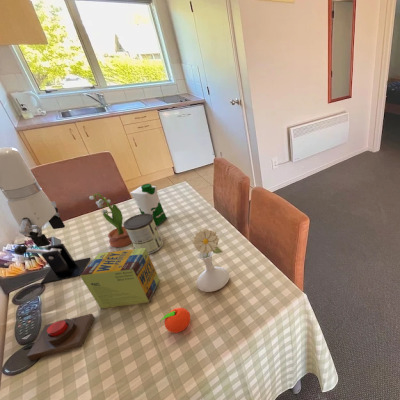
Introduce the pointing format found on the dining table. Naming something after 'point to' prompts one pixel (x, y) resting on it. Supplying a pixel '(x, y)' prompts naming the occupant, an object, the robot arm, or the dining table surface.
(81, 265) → the bracket
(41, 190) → the robot arm
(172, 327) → the clementine
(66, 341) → the button block
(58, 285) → the dining table surface
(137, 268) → the protein box
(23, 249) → the toast lever
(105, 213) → the potted flower
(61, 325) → the button
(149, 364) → the dining table surface
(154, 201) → the milk carton
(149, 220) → the coffee can
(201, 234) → the flower in vase
